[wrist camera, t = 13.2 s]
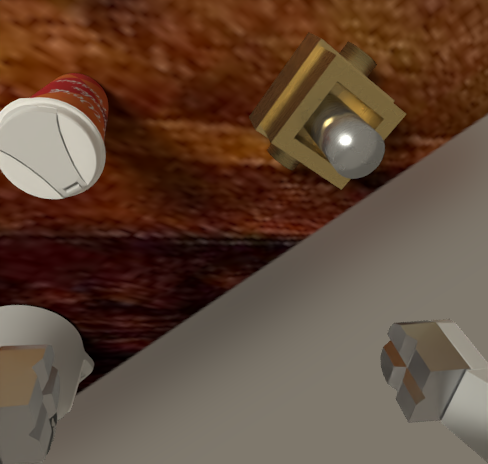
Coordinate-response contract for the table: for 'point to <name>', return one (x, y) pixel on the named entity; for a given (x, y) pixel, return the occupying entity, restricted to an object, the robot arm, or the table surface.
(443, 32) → the table surface
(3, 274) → the table surface
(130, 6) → the table surface
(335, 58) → the valve body
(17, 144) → the paper cup
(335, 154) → the silver metal cylinder
